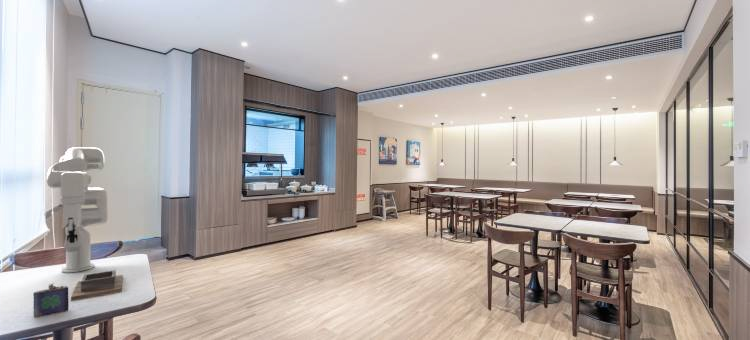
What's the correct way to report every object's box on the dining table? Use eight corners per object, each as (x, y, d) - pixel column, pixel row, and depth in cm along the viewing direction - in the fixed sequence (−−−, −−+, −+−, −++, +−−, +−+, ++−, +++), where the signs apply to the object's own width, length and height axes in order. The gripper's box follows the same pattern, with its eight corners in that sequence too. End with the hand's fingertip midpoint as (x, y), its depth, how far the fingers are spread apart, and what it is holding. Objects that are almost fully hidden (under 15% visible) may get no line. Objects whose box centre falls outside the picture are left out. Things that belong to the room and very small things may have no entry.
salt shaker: (70, 252, 137) (70, 221, 137) (60, 251, 138) (59, 221, 138) (85, 249, 143) (85, 219, 143) (75, 248, 144) (75, 219, 144)
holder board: (78, 284, 149) (78, 272, 149) (122, 277, 159) (122, 266, 159) (70, 300, 132) (70, 287, 132) (121, 291, 141) (121, 279, 141)
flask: (32, 318, 116) (32, 288, 116) (34, 315, 119) (34, 285, 119) (68, 311, 122) (68, 282, 122) (69, 308, 125) (69, 280, 124)
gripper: (64, 199, 145) (65, 240, 145) (56, 203, 131) (56, 248, 132) (87, 198, 149) (87, 238, 149) (81, 202, 136) (81, 246, 136)
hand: (73, 243), depth 141 cm, fingers closed on salt shaker, 3 cm apart
